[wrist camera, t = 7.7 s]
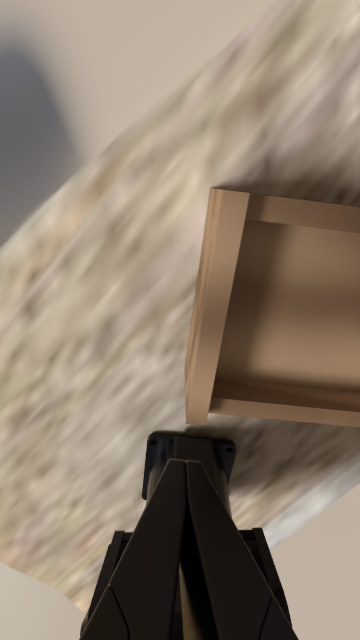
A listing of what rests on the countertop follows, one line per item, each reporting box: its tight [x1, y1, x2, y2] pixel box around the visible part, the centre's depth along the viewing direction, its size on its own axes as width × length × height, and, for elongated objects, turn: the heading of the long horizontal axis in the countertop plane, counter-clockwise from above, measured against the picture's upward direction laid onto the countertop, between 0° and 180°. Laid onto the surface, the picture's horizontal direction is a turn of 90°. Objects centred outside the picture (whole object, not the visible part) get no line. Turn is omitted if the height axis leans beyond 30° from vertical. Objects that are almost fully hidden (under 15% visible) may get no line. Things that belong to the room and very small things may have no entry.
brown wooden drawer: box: [185, 188, 360, 428], centre depth 17 cm, size 11×12×6 cm
